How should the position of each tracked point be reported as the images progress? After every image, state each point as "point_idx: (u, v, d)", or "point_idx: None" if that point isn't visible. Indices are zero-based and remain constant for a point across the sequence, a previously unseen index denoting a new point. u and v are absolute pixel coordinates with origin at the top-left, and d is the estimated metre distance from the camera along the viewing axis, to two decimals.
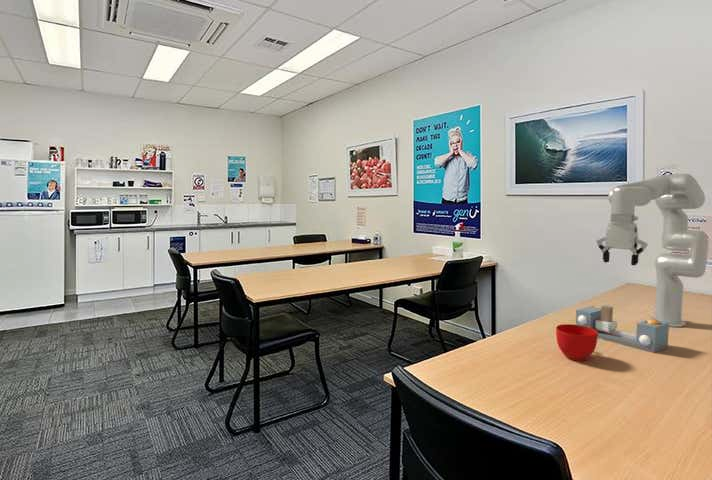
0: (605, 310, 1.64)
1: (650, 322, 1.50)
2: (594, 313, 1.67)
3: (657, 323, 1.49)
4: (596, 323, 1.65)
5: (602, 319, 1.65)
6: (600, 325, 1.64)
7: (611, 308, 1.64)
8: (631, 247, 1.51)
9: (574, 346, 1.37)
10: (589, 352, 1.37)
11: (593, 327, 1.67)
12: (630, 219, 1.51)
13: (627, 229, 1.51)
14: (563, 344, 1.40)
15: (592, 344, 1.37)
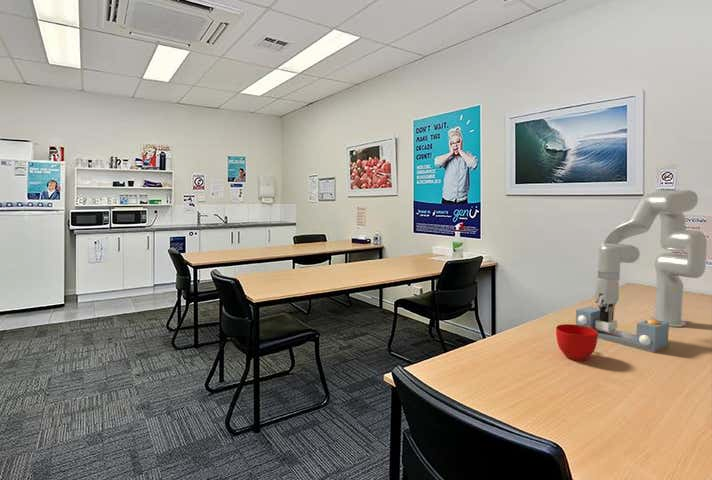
0: None
1: (650, 322, 1.50)
2: (594, 313, 1.67)
3: (657, 323, 1.49)
4: (596, 323, 1.65)
5: None
6: (600, 325, 1.64)
7: (611, 308, 1.64)
8: (617, 300, 1.65)
9: (574, 346, 1.37)
10: (589, 352, 1.37)
11: (593, 327, 1.67)
12: None
13: (617, 284, 1.63)
14: (563, 344, 1.40)
15: (592, 344, 1.37)
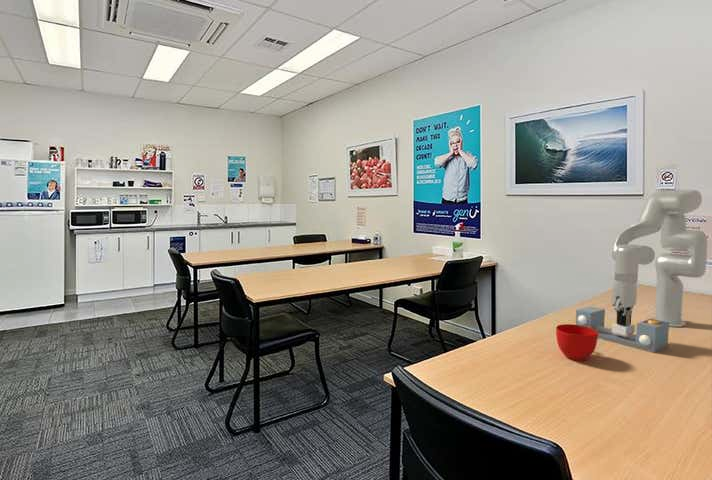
0: None
1: (650, 322, 1.50)
2: (594, 313, 1.67)
3: (657, 323, 1.49)
4: (613, 327, 1.60)
5: None
6: (617, 329, 1.58)
7: (628, 312, 1.58)
8: (635, 303, 1.60)
9: (574, 346, 1.37)
10: (589, 352, 1.37)
11: (593, 327, 1.67)
12: None
13: (635, 287, 1.58)
14: (563, 344, 1.40)
15: (592, 344, 1.37)
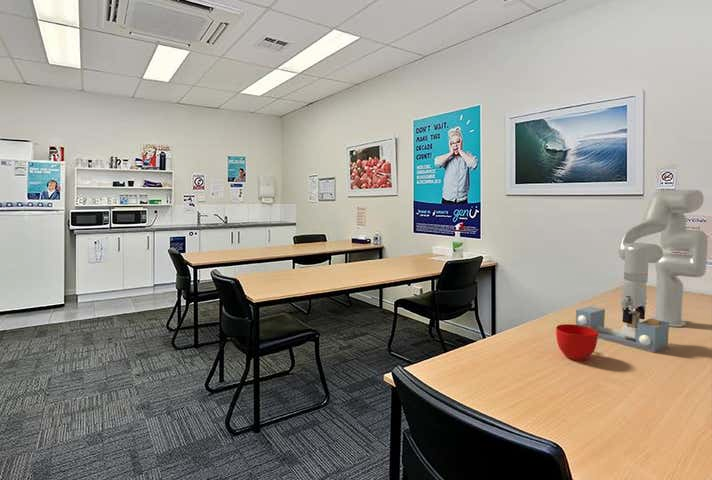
0: None
1: (650, 322, 1.50)
2: (594, 313, 1.67)
3: (657, 323, 1.49)
4: (622, 329, 1.57)
5: (628, 325, 1.57)
6: (626, 331, 1.56)
7: (638, 313, 1.55)
8: (645, 303, 1.57)
9: (574, 346, 1.37)
10: (589, 352, 1.37)
11: (593, 327, 1.67)
12: None
13: (645, 286, 1.55)
14: (563, 344, 1.40)
15: (592, 344, 1.37)
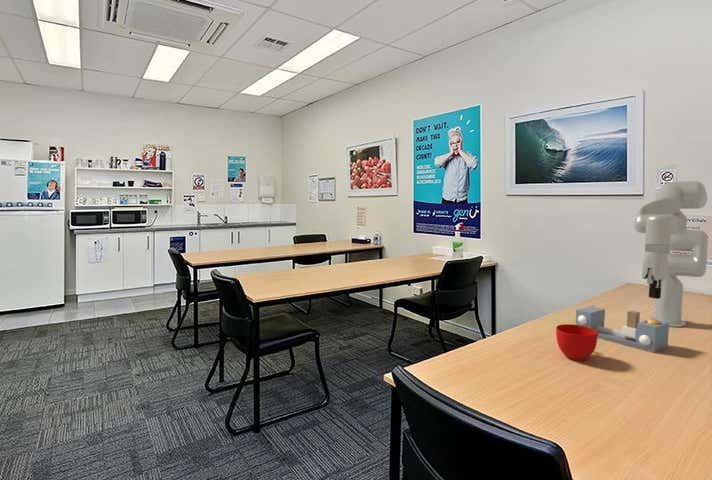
0: (632, 315, 1.56)
1: (650, 322, 1.50)
2: (594, 313, 1.67)
3: (657, 323, 1.49)
4: (622, 329, 1.57)
5: (628, 325, 1.57)
6: (626, 331, 1.56)
7: (638, 313, 1.55)
8: (666, 276, 1.50)
9: (574, 346, 1.37)
10: (589, 352, 1.37)
11: (593, 327, 1.67)
12: None
13: (667, 258, 1.48)
14: (563, 344, 1.40)
15: (592, 344, 1.37)
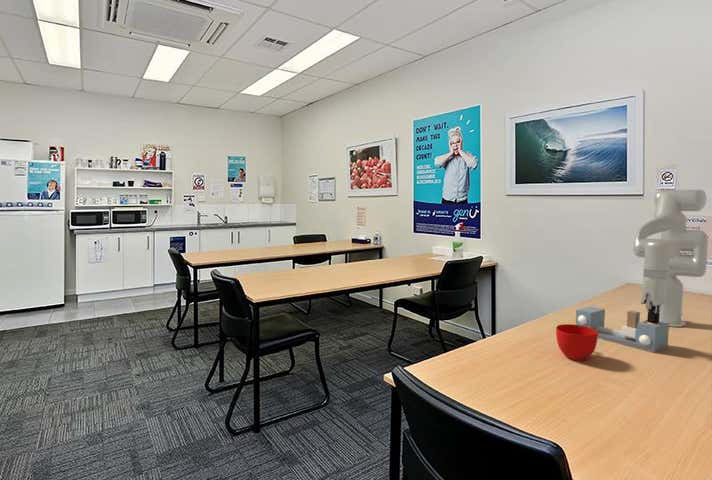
0: (632, 315, 1.56)
1: None
2: (594, 313, 1.67)
3: None
4: (622, 329, 1.57)
5: (628, 325, 1.57)
6: (626, 331, 1.56)
7: (638, 313, 1.55)
8: None
9: (574, 346, 1.37)
10: (589, 352, 1.37)
11: (593, 327, 1.67)
12: None
13: (666, 284, 1.49)
14: (563, 344, 1.40)
15: (592, 344, 1.37)
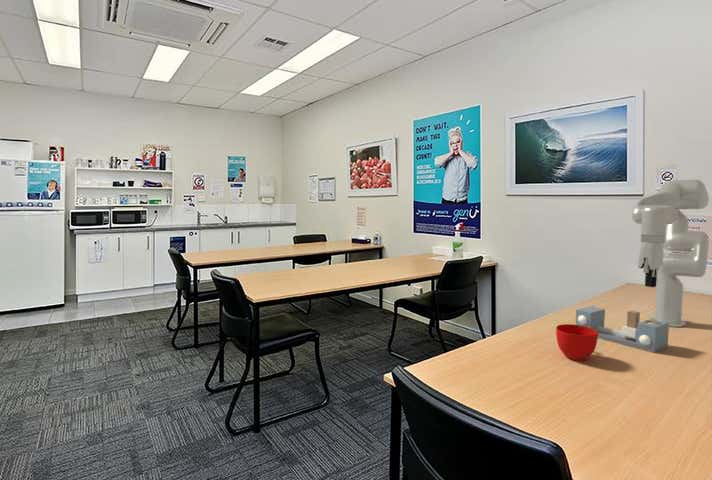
0: (632, 315, 1.56)
1: None
2: (594, 313, 1.67)
3: None
4: (622, 329, 1.57)
5: (628, 325, 1.57)
6: (626, 331, 1.56)
7: (638, 313, 1.55)
8: None
9: (574, 346, 1.37)
10: (589, 352, 1.37)
11: (593, 327, 1.67)
12: None
13: (662, 248, 1.53)
14: (563, 344, 1.40)
15: (592, 344, 1.37)
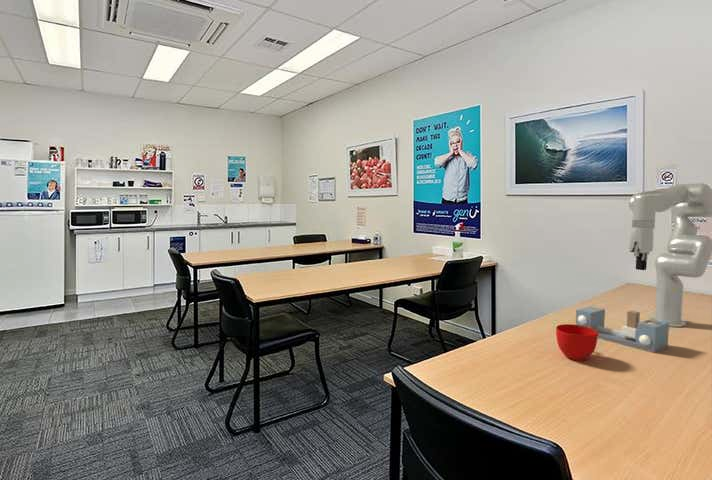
0: (632, 315, 1.56)
1: None
2: (594, 313, 1.67)
3: None
4: (622, 329, 1.57)
5: (628, 325, 1.57)
6: (626, 331, 1.56)
7: (638, 313, 1.55)
8: None
9: (574, 346, 1.37)
10: (589, 352, 1.37)
11: (593, 327, 1.67)
12: None
13: (652, 233, 1.63)
14: (563, 344, 1.40)
15: (592, 344, 1.37)
